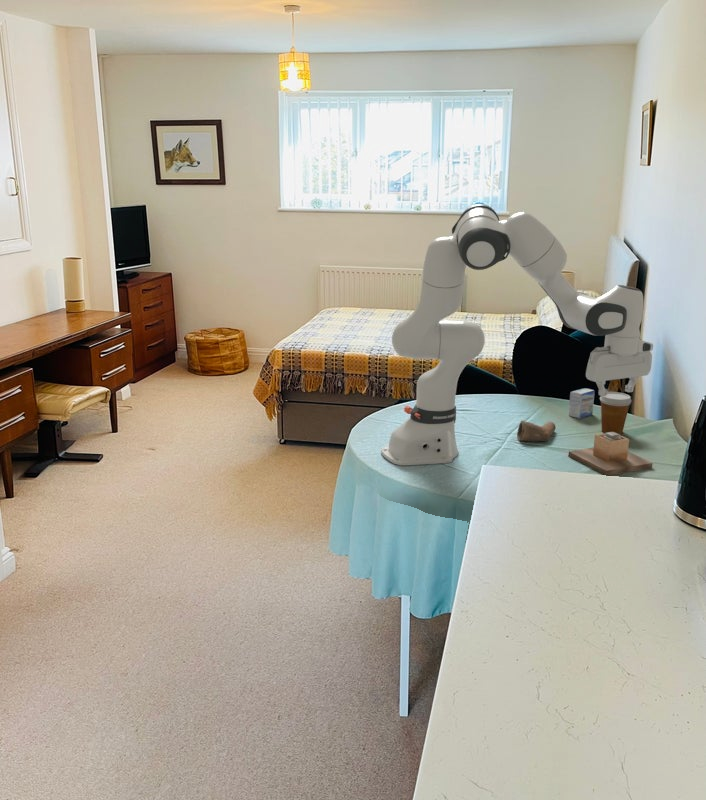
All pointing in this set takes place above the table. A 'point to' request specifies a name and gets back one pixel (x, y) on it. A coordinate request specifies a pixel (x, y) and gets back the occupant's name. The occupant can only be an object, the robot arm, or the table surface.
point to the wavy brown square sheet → (610, 468)
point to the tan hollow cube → (610, 448)
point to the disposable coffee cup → (614, 411)
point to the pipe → (535, 431)
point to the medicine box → (581, 403)
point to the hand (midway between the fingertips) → (615, 393)
